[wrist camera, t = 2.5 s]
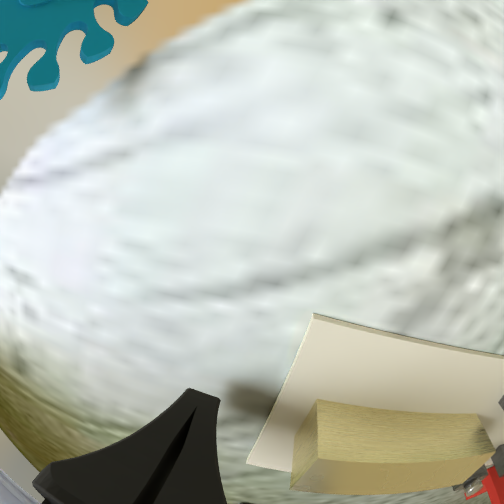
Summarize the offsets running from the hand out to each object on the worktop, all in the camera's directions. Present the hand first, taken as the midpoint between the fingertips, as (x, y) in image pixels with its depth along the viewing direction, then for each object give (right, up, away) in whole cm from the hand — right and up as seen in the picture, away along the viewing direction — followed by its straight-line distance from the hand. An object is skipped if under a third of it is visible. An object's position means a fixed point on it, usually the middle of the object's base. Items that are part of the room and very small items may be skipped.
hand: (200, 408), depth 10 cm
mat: (+14, -4, 0) cm, 15 cm away
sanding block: (+9, -2, 0) cm, 10 cm away
